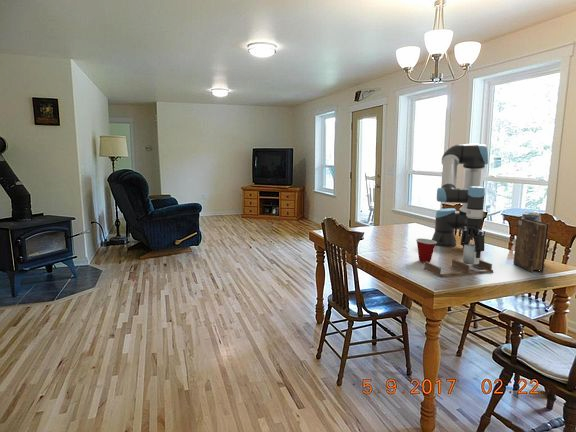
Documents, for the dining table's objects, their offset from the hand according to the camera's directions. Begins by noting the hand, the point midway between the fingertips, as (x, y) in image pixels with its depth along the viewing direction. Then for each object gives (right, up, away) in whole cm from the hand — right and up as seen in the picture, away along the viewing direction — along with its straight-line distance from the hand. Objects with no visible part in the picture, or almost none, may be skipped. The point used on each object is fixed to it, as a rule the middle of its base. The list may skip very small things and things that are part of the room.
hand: (470, 261), depth 191 cm
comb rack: (-8, -4, -2) cm, 9 cm away
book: (+30, -4, +2) cm, 31 cm away
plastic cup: (-18, -2, +14) cm, 23 cm away
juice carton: (+41, -1, +19) cm, 45 cm away
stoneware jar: (0, -1, 0) cm, 1 cm away
